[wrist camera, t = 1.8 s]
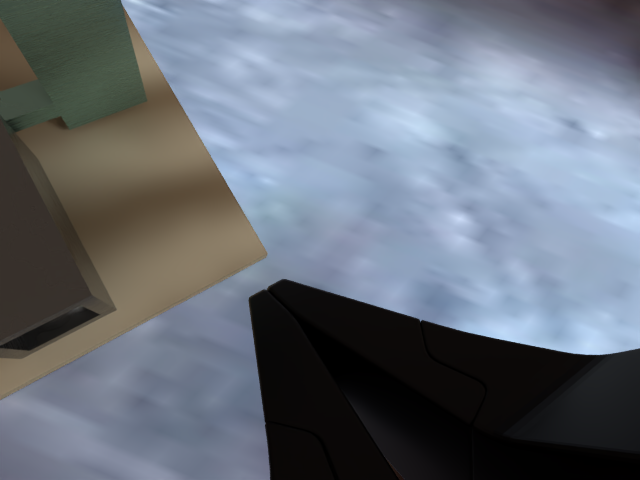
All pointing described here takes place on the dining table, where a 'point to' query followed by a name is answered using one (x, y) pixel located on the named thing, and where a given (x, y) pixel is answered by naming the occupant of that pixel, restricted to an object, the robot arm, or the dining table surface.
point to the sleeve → (40, 259)
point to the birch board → (133, 209)
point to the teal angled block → (70, 62)
